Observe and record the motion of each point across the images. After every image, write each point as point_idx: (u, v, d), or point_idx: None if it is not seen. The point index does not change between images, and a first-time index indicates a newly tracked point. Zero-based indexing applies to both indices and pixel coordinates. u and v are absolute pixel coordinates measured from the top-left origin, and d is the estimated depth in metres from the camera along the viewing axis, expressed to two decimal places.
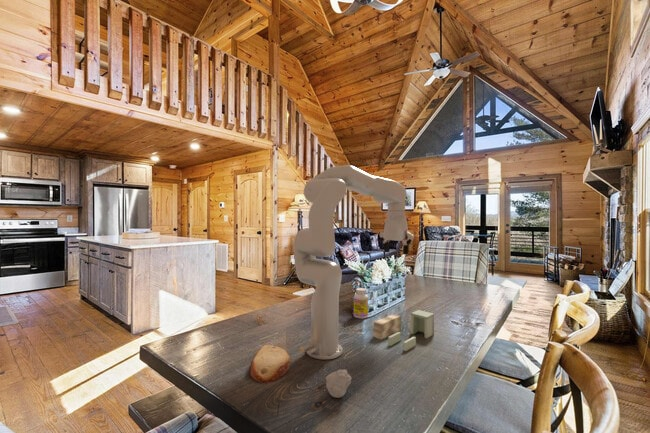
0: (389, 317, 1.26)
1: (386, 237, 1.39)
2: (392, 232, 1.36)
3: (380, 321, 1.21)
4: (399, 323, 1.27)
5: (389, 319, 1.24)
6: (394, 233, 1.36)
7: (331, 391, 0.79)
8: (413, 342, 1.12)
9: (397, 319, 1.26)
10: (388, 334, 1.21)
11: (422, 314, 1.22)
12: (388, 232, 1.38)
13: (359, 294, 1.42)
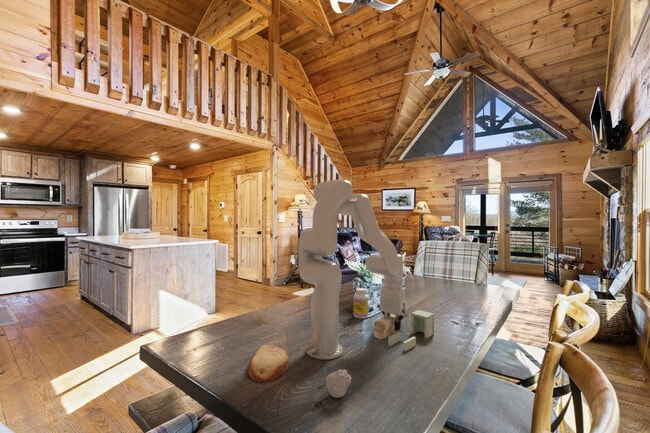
0: (389, 317, 1.26)
1: (382, 308, 1.27)
2: (388, 304, 1.25)
3: (380, 321, 1.21)
4: None
5: (390, 318, 1.24)
6: (391, 306, 1.24)
7: (331, 391, 0.79)
8: (413, 342, 1.12)
9: None
10: (388, 334, 1.21)
11: (422, 314, 1.22)
12: (384, 303, 1.26)
13: (359, 294, 1.42)
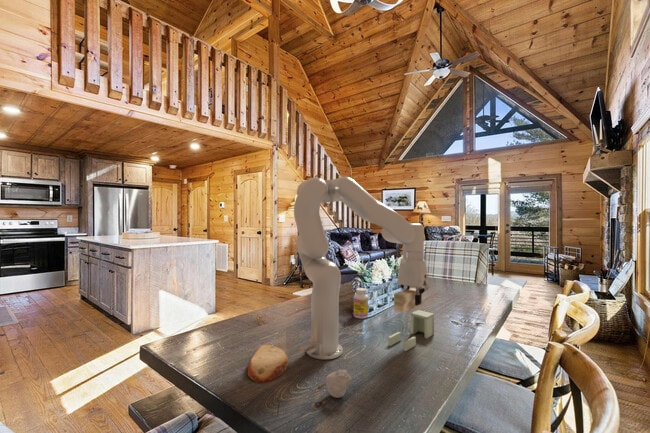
0: (409, 290, 1.17)
1: (401, 281, 1.18)
2: (408, 276, 1.16)
3: (401, 293, 1.13)
4: None
5: (410, 291, 1.15)
6: (411, 278, 1.15)
7: (331, 391, 0.79)
8: (413, 342, 1.12)
9: None
10: (409, 308, 1.13)
11: (422, 314, 1.22)
12: (404, 276, 1.18)
13: (359, 294, 1.42)
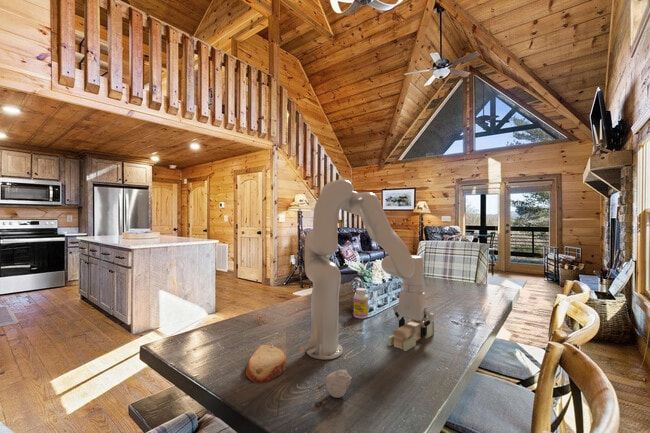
0: (409, 324, 1.18)
1: (401, 314, 1.18)
2: (408, 309, 1.16)
3: (400, 329, 1.13)
4: (419, 331, 1.19)
5: (410, 326, 1.16)
6: (411, 311, 1.16)
7: (331, 391, 0.79)
8: (413, 342, 1.12)
9: (417, 326, 1.17)
10: None
11: None
12: (403, 308, 1.18)
13: (359, 294, 1.42)
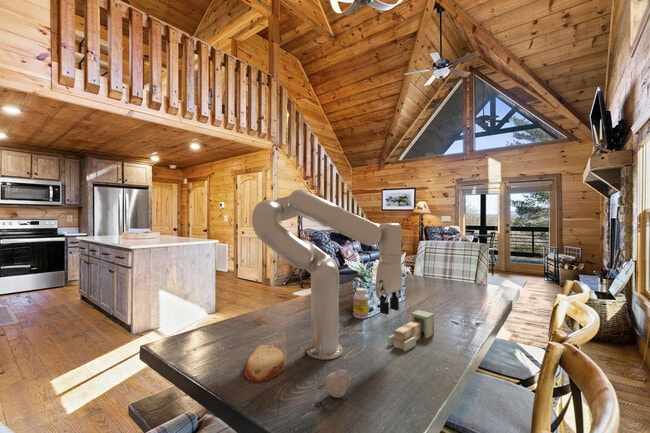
0: (409, 324, 1.18)
1: None
2: None
3: (401, 329, 1.13)
4: (419, 331, 1.19)
5: (410, 326, 1.16)
6: None
7: (331, 391, 0.79)
8: (413, 342, 1.12)
9: (417, 326, 1.18)
10: None
11: (422, 314, 1.22)
12: None
13: (359, 294, 1.42)
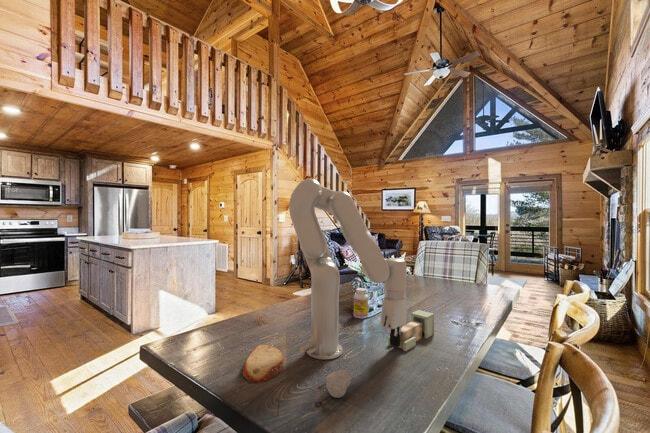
0: (410, 324, 1.18)
1: None
2: None
3: (401, 329, 1.13)
4: (420, 330, 1.19)
5: (411, 326, 1.16)
6: None
7: (331, 391, 0.79)
8: (413, 342, 1.12)
9: (418, 326, 1.18)
10: None
11: (422, 314, 1.22)
12: None
13: (359, 294, 1.42)
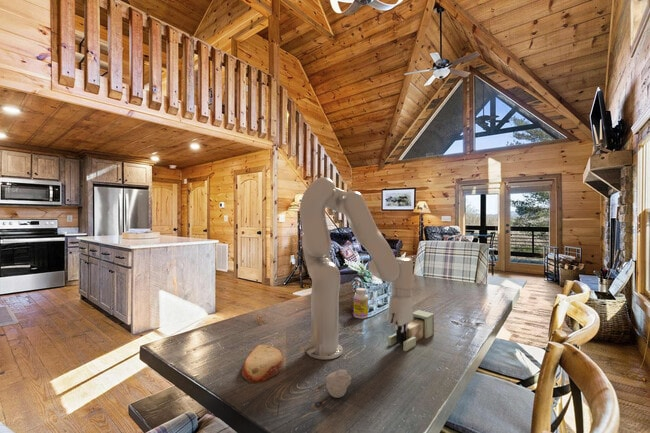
0: (415, 321, 1.21)
1: None
2: None
3: None
4: None
5: (416, 323, 1.19)
6: None
7: (331, 391, 0.79)
8: (413, 342, 1.12)
9: (423, 323, 1.21)
10: None
11: (422, 314, 1.22)
12: None
13: (359, 294, 1.42)
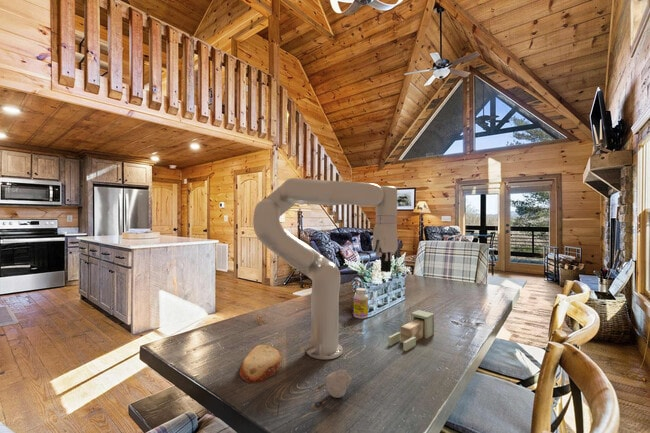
0: (415, 321, 1.21)
1: None
2: None
3: (407, 326, 1.16)
4: None
5: (416, 323, 1.19)
6: None
7: (331, 391, 0.79)
8: (413, 342, 1.12)
9: (423, 323, 1.21)
10: None
11: (422, 314, 1.22)
12: None
13: (359, 294, 1.42)
